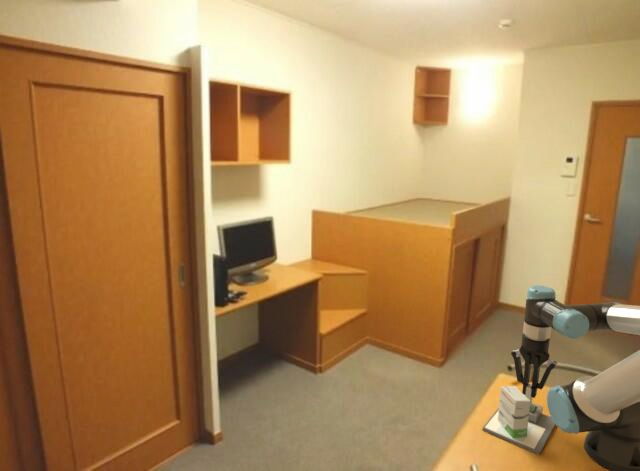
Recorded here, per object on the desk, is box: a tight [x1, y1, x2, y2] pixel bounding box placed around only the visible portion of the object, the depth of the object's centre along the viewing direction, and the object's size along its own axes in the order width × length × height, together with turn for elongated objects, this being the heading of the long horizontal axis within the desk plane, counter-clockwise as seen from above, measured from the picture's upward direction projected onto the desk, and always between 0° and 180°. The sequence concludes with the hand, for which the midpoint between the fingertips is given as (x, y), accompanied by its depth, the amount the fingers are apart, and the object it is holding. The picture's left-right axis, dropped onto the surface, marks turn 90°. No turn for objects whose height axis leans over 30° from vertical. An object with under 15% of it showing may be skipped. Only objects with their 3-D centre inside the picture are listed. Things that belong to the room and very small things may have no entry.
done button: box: [529, 403, 535, 414], centre depth 136 cm, size 4×4×3 cm
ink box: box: [498, 385, 530, 438], centre depth 128 cm, size 9×5×12 cm, turn 7°
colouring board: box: [482, 402, 557, 456], centre depth 131 cm, size 16×20×3 cm
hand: (528, 404), depth 136 cm, fingers closed
